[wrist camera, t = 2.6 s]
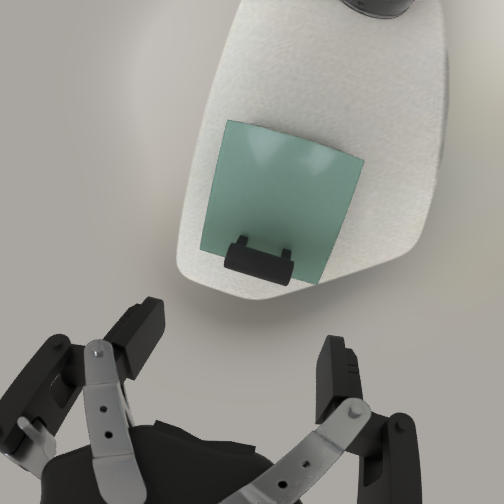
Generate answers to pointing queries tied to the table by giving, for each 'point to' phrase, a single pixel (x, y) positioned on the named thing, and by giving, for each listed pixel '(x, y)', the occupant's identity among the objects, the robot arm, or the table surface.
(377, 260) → the table surface
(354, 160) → the green square slab
